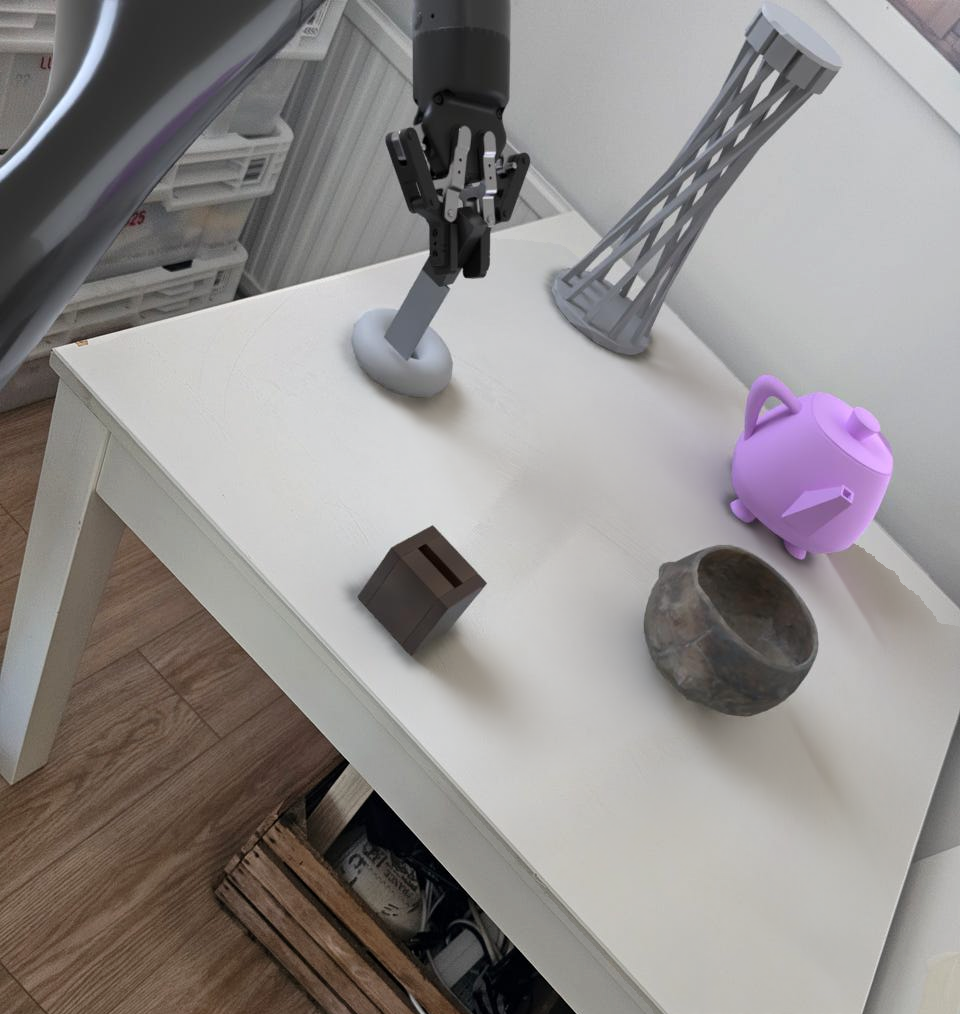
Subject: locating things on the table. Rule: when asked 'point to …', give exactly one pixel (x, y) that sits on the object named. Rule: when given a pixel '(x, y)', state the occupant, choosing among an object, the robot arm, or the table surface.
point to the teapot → (809, 468)
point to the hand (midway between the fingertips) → (460, 275)
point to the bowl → (729, 631)
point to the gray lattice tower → (697, 180)
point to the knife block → (421, 589)
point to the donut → (389, 368)
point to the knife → (432, 288)
